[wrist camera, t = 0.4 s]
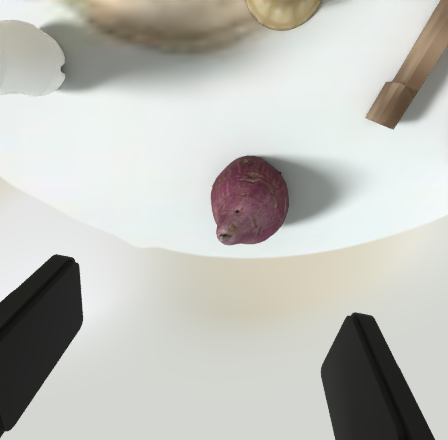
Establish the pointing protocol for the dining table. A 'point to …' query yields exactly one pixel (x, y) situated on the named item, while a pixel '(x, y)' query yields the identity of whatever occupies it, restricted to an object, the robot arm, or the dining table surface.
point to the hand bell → (282, 12)
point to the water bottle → (28, 60)
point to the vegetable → (248, 201)
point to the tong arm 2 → (412, 70)
